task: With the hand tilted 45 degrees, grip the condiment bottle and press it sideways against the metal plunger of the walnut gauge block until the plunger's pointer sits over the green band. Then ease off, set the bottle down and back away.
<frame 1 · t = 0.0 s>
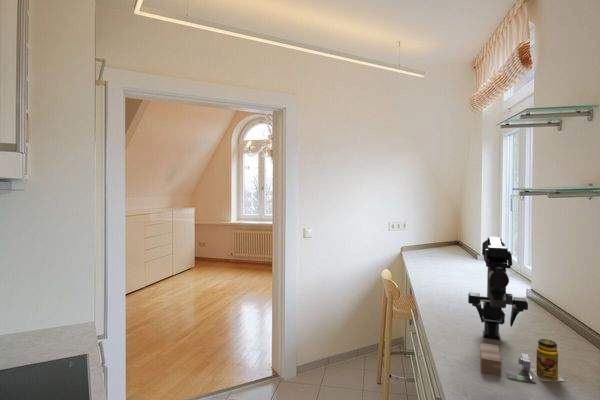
hand: (496, 324, 134), 15 cm above the countertop, tool pointing down, fingers open, 9 cm apart
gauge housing: (502, 367, 132), on the countertop
plunger: (524, 365, 128), point 3 cm above the countertop, slide at 0.0 cm
condiment: (545, 375, 127), on the countertop
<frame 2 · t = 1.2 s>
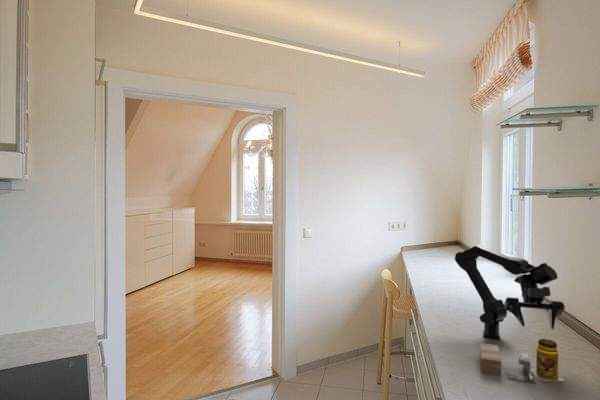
hand: (538, 327, 134), 13 cm above the countertop, tool tilted 45°, fingers open, 9 cm apart
nothing on the countertop moved.
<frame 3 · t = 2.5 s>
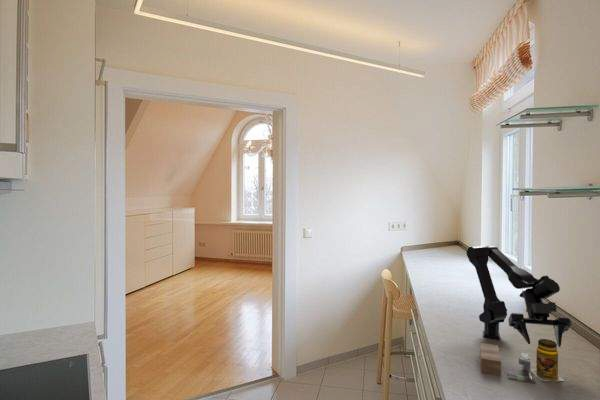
hand: (544, 345, 129), 9 cm above the countertop, tool tilted 45°, fingers open, 9 cm apart
nothing on the countertop moved.
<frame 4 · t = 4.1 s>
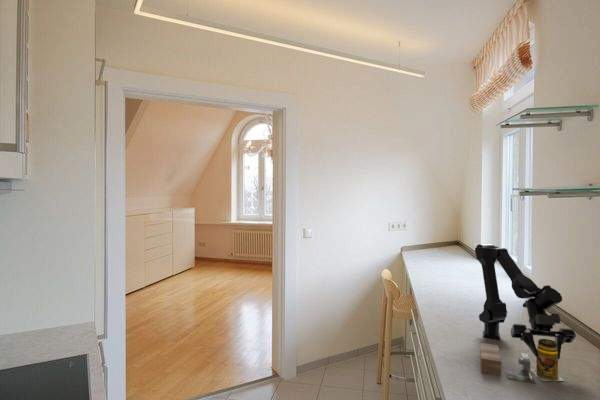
hand: (547, 357, 125), 7 cm above the countertop, tool tilted 45°, fingers closed on condiment, 6 cm apart
condiment: (545, 375, 127), on the countertop, touching gripper
everything else where it was.
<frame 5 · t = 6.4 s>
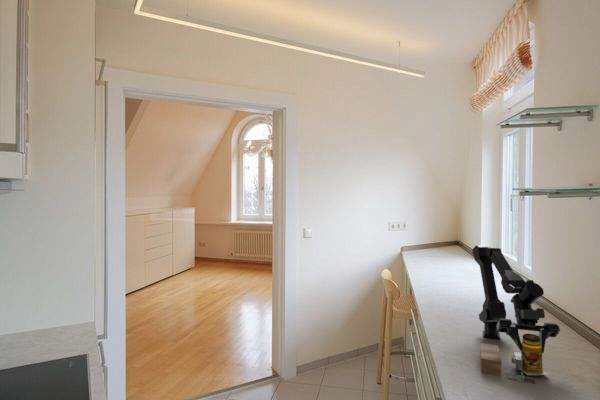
hand: (532, 351, 127), 8 cm above the countertop, tool tilted 45°, fingers closed on condiment, 6 cm apart
plunger: (517, 364, 129), point 3 cm above the countertop, slide at 2.2 cm, touching condiment
condiment: (531, 369, 129), point 1 cm above the countertop, touching gripper, plunger
when the fingers open (7 cm above the countertop, at t = 8.5 s): condiment stays where it is, on the countertop.
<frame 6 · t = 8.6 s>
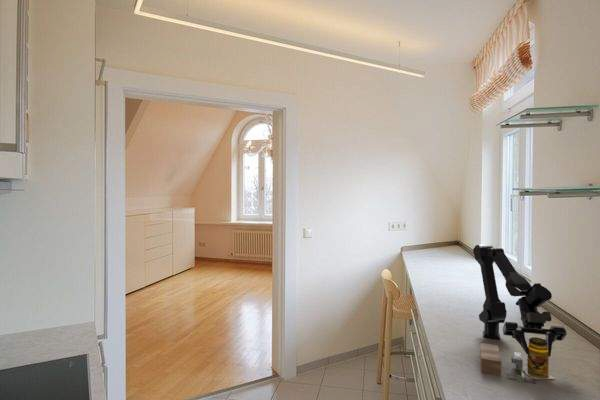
hand: (538, 355, 127), 7 cm above the countertop, tool tilted 45°, fingers open, 6 cm apart
plunger: (517, 364, 129), point 3 cm above the countertop, slide at 2.3 cm
condiment: (536, 373, 128), on the countertop
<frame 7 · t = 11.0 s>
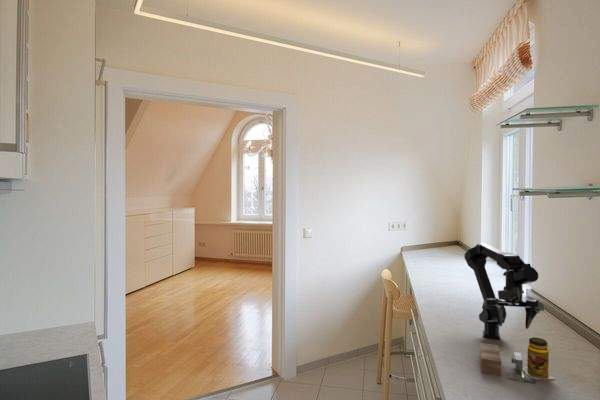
hand: (513, 327, 139), 12 cm above the countertop, tool tilted 30°, fingers open, 9 cm apart
nothing on the countertop moved.
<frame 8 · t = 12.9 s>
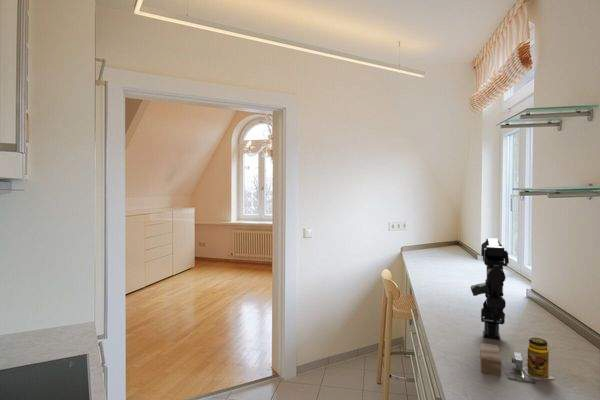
hand: (494, 317, 146), 13 cm above the countertop, tool pointing down, fingers open, 9 cm apart
nothing on the countertop moved.
at the end: plunger slide at 2.3 cm; condiment tilted 0°; the gripper is holding nothing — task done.
